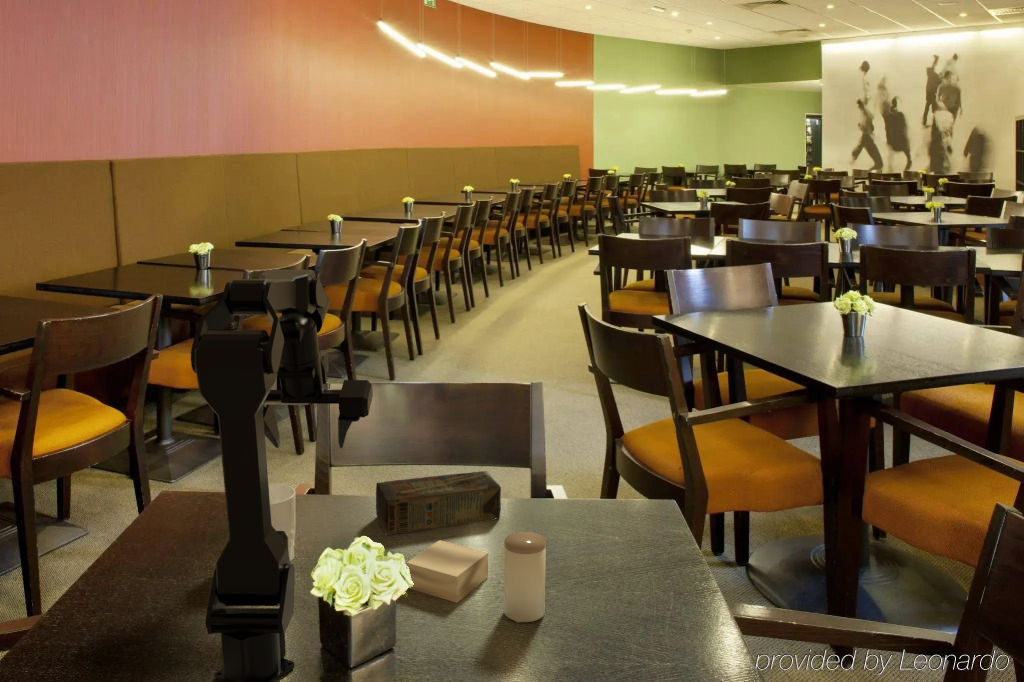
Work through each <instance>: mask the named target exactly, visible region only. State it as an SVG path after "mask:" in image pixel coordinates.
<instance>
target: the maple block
mask: <svg viewBox="0 0 1024 682" xmlns="http://www.w3.org/2000/svg"><path fill="white" fill-rule="evenodd" d="M407 566H408V567H409V569H410V574H411V578H412V581H413V583H414V585H413V587H411V588H410V589H411V590H412V591H416V592H421V593H422V594H426V595H430V596H433V597H436V598H441V599H443V600H447V601H450V602H453V603H457V604H458V602H459V601H461V600H462V599H463V598H464V597H466V596H467V595H468V594H469V593H471V592H472V591H473V590H474V588H475V587H476V586H477V587H478V586H479V585H481V584H482V583H483V582H484V581H486V580H487V579H488V578H489V552H486V551H484V550H483V551H482V550H479V549H475V548H471V547H468V546H463V545H460V544H456V543H453V542H448V541H444V540H441V539H440V540H437V541H436V542H434V543H433V544H432V545H430V546H429V547H428V548H426V549H425V550H424V549H423V551H421V552H420V553H418V554H417V555H416V556H414V557H413V558H410V560H408V561H407V562H406V567H407ZM486 578H487V579H486ZM485 579H486V580H485ZM482 581H483V582H482ZM480 583H481V584H480ZM477 587H476V588H477ZM476 588H475V589H476ZM410 589H409V590H410ZM470 591H471V592H470Z"/></svg>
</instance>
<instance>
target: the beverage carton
mask: <svg viewBox="0 0 1024 682" xmlns="http://www.w3.org/2000/svg"><path fill="white" fill-rule="evenodd" d="M375 485H376V486H375V487H376V488H375V511H376V518H377V519H378V522H379V523H380V526H381V528H382V530H383V532H384V534H391V535H398V534H397V533H399V534H404V533H405V534H406V533H412V532H419V531H425V530H434V529H440V528H441V527H442V528H448V527H447V526H449V527H454V526H455V525H456V526H461V525H462V524H463V525H467V524H468V525H469V523H470V524H475V522H477V523H481V521H482V522H487V521H486V520H489V521H492V520H491V519H495V518H500V519H501V510H502V509H501V508H502V506H501V505H502V503H501V500H502V499H501V497H502V496H501V493H502V487H501V486H500V484H499V483H498V482H497V481H496V480H495V479H494V478H493V477H492V476H491V474H490V473H489V472H488V471H486V470H484V471H483V470H482V471H481V470H480V471H472V472H464V473H462V472H461V473H454V474H453V473H450V474H443V475H442V474H441V475H433V476H424V477H415V478H406V479H405V478H404V479H396V480H387V481H383V482H381V481H380V482H376V484H375ZM495 520H496V519H495ZM442 528H441V529H442Z"/></svg>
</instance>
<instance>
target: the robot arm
mask: <svg viewBox="0 0 1024 682" xmlns="http://www.w3.org/2000/svg"><path fill="white" fill-rule="evenodd" d="M321 281H322V280H321V279H320V278H316V273H315V271H314V270H312V269H266V270H265V271H263V272H262V273H260V275H259V278H234V279H232V280H228V281H227V282H226V283H225V285H224V288H223V292H222V296H221V298H220V299H219V300H218V301H217V302H216V303H215V304H213V305H212V306H211V308H209V309H208V310H207V311H206V312H205V313H204V314H203V315H202V316H201V317H200V318H199V321H198V325H197V327H196V330H195V335H194V337H193V342H192V345H191V350H190V366H191V369H192V371H193V373H195V374H196V381H197V385H198V387H197V388H198V391H199V392H198V393H199V394H200V396H201V397H202V398H203V400H205V402H206V403H207V404H208V406H209V407H210V408H211V410H212V411H213V412H214V413H215V414H216V415H217V421H218V431H219V433H218V434H219V441H220V442H219V444H220V453H221V455H220V456H221V463H222V473H223V474H222V475H223V486H224V496H225V508H226V519H227V530H228V540H227V543H226V544H225V547H224V548H223V550H222V552H221V553H220V556H219V558H218V559H217V561H216V563H215V568H214V572H213V575H212V576H211V577H210V583H209V591H208V598H207V603H206V604H207V606H206V616H205V629H206V631H207V634H208V635H214V634H220V638H221V641H220V642H221V652H222V668H220V669H219V670H217V671H216V672H214V674H213V679H214V680H216V681H218V682H277V681H278V680H279V679H280V678H282V677H283V676H285V675H286V674H287V673H289V672H290V671H292V670H293V669H294V668H295V667H296V666H295V665H296V663H295V662H294V661H293V660H290V659H287V658H285V657H286V656H287V655H286V654H287V652H286V651H287V650H286V634H285V633H286V632H287V629H288V628H289V627H288V626H289V625H290V623H291V620H292V618H293V615H294V613H295V612H294V610H295V609H294V608H295V586H296V585H295V582H296V573H295V572H296V571H295V565H294V564H293V563H291V562H290V558H289V552H288V537H287V535H286V533H285V532H284V531H276V530H275V529H274V528H273V526H272V523H271V512H270V498H269V485H268V484H269V473H268V463H267V462H268V461H267V448H266V447H267V446H266V438H267V439H268V440H269V442H270V443H271V444H272V445H273V446H274V447H275V448H276V449H279V448H280V446H281V439H280V437H281V435H280V432H279V428H278V423H277V419H276V415H275V410H274V406H275V405H277V406H278V405H279V406H282V405H283V406H287V405H288V406H296V405H298V406H299V405H300V406H301V405H302V406H304V405H305V406H308V405H309V404H311V405H315V404H316V405H317V404H319V405H320V404H321V405H322V404H323V405H325V404H326V405H331V404H332V405H334V404H335V405H338V412H339V414H338V417H337V429H338V430H337V431H338V432H337V433H338V434H337V436H338V437H337V439H338V446H339V449H343V448H344V444H345V440H346V437H347V433H348V431H349V429H350V427H351V425H352V424H353V423H355V422H359V421H360V420H361V418H366V417H367V416H369V414H370V410H371V405H372V401H373V397H374V393H373V392H374V390H373V385H372V384H371V382H370V381H369V380H367V379H344V380H343V383H342V387H341V388H326V389H325V388H324V385H326V384H327V382H328V373H329V368H330V367H329V351H328V350H326V349H325V350H324V349H320V348H319V339H318V334H319V333H320V332H321V330H322V327H323V324H324V321H325V319H326V316H327V313H328V310H329V307H330V298H329V296H328V295H327V292H325V289H324V287H323V285H322V282H321ZM277 314H281V315H280V316H279V317H278V315H277ZM235 316H267V319H268V322H269V324H270V326H271V329H270V334H268V331H267V330H266V329H226V328H227V327H229V325H230V324H232V322H233V321H234V319H235ZM277 379H279V381H280V382H279V383H280V389H272V388H273V387H274V384H275V383H276V381H277ZM230 607H231V608H230ZM232 607H233V608H232ZM234 607H235V608H234ZM246 607H247V608H246ZM249 607H250V608H249ZM252 607H253V608H252ZM254 607H255V608H254ZM257 607H260V608H257ZM263 607H264V608H263ZM265 607H267V608H265ZM269 607H270V608H269ZM275 607H277V608H275Z"/></svg>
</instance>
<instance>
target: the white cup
mask: <svg viewBox="0 0 1024 682" xmlns="http://www.w3.org/2000/svg"><path fill="white" fill-rule="evenodd" d="M268 485H269V498H270V512H271V523H272V526H273V528H274V529H275V530H276V531H284V532H285V533H286V535H287V537H288V552H289V558H290V563H291V562H292V561H293V560H294V559H295V539H296V490H295V488H294V487H292V486H290V485H288V484H283V483H268Z"/></svg>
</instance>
